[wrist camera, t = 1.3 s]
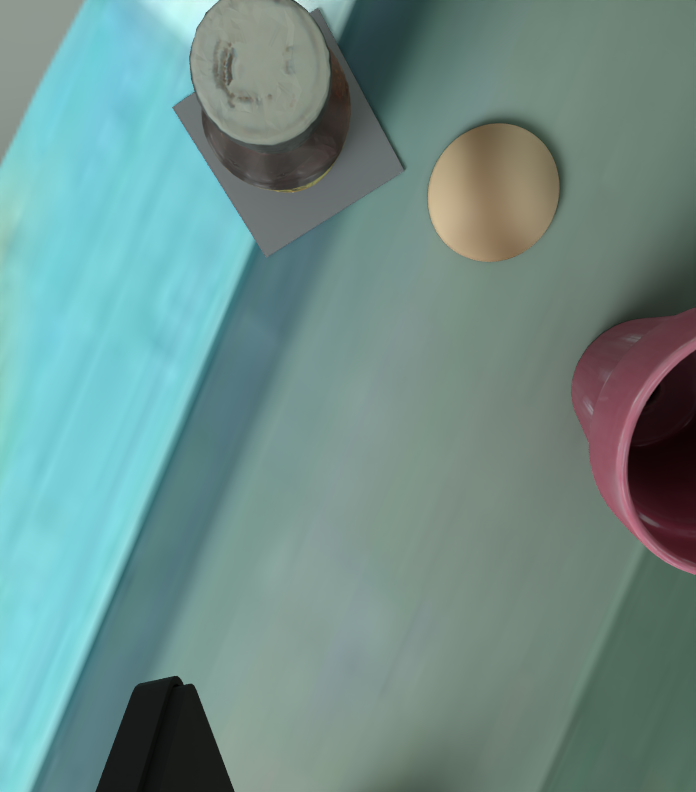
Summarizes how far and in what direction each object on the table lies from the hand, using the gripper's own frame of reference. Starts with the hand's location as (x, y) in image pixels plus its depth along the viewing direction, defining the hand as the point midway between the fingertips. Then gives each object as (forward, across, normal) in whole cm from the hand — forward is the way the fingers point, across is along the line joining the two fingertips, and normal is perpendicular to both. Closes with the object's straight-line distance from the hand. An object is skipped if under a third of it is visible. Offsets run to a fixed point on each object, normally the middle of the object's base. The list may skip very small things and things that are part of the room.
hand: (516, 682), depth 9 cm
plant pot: (+31, -18, +9) cm, 37 cm away
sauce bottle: (+32, +2, -11) cm, 34 cm away
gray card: (+32, +2, -11) cm, 34 cm away
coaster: (+32, -10, -5) cm, 33 cm away
